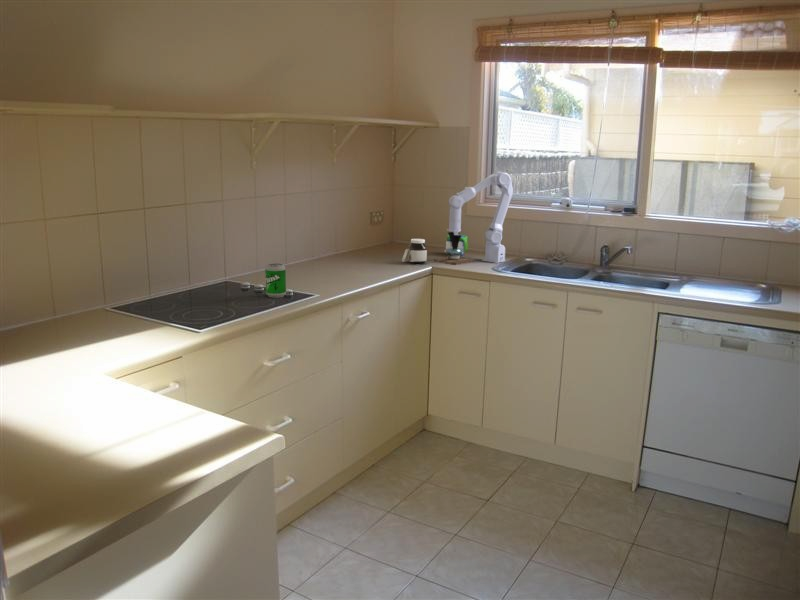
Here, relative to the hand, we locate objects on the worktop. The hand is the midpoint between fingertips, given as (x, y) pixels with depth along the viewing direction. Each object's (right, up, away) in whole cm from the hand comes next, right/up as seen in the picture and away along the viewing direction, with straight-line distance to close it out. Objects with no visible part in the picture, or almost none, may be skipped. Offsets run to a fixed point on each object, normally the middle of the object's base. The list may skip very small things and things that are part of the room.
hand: (454, 247), depth 343 cm
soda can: (-74, -25, -79) cm, 111 cm away
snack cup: (+3, -3, +20) cm, 21 cm away
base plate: (0, -7, +2) cm, 7 cm away
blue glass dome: (0, -3, +1) cm, 3 cm away
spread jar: (-20, -8, -5) cm, 23 cm away
